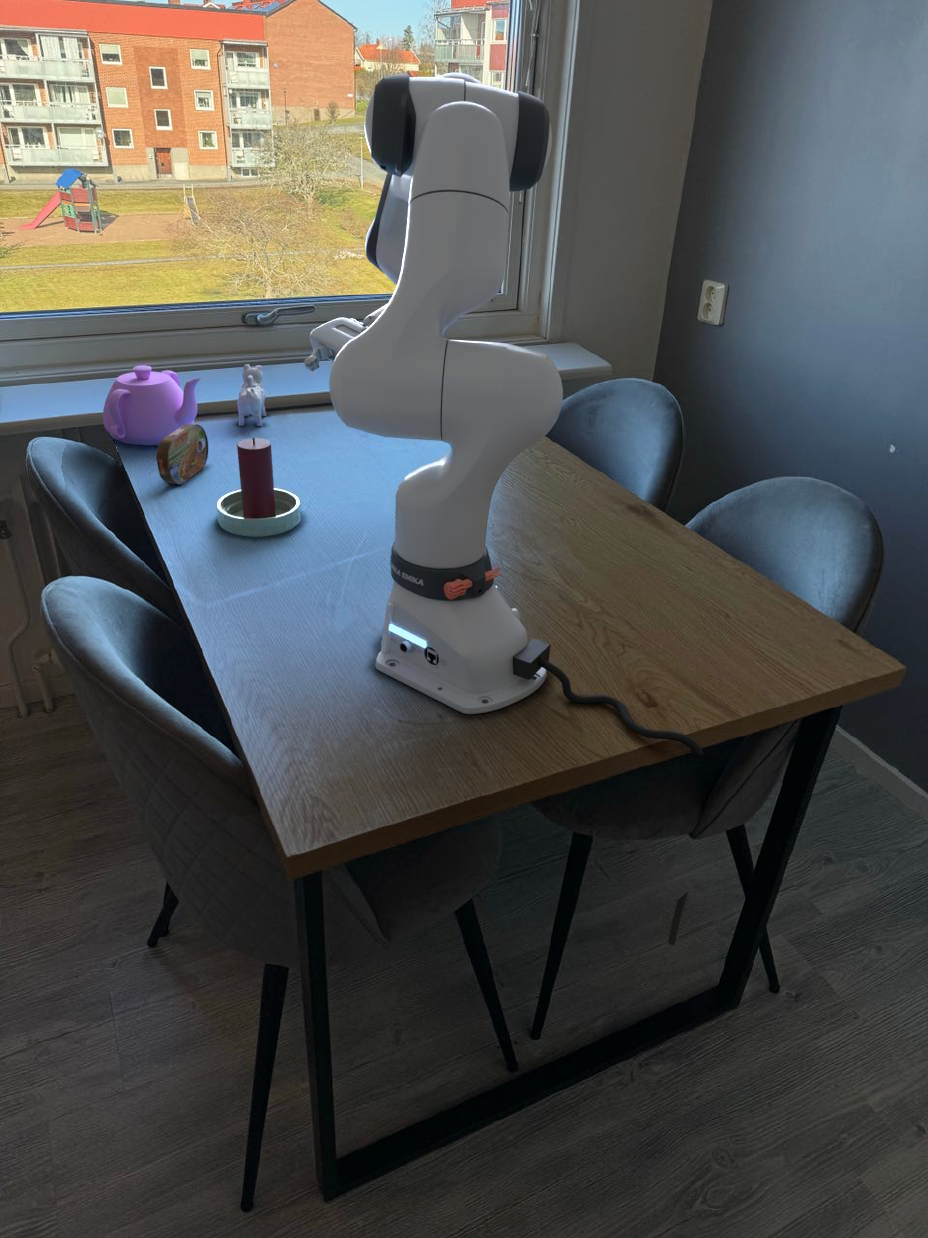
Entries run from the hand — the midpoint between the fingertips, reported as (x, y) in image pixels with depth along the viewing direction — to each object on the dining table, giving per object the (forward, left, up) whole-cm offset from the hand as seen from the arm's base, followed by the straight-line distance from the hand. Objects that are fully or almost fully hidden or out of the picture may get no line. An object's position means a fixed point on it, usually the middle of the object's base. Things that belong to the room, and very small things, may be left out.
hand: (325, 376), depth 142 cm
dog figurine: (+47, -11, -22) cm, 53 cm away
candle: (0, +14, -21) cm, 26 cm away
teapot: (+46, +10, -22) cm, 52 cm away
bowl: (0, +14, -22) cm, 26 cm away
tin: (+25, +15, -22) cm, 36 cm away
